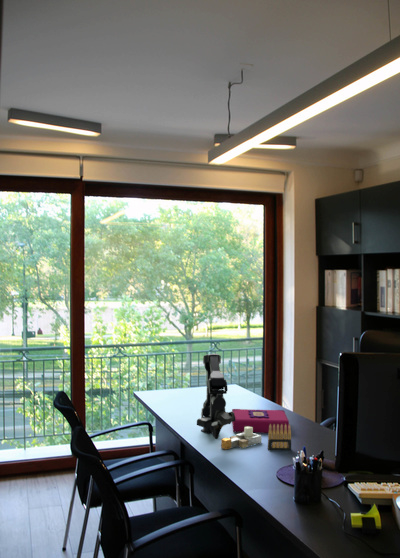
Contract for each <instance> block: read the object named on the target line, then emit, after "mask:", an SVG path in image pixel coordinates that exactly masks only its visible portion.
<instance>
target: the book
mask: <svg viewBox="0 0 400 558" xmlns="http://www.w3.org/2000/svg"><path fill="white" fill-rule="evenodd" d="M232 411H233V412H234V415H235V421H233V422H231V424H232V433H244V427H253V432H256V433H255V434H268V433H269V425H270V424H271V427H272V432H273V425H274V424H275V432H276V430H277V424H279V433H280V428H281V424H282V425H283V434H284V427H285V424H286V426H287V435H288V426H289V424H290V420H289V418H288V417H287V414H286V412H285V410H284V409H243V408H232V409H231V412H232Z"/></svg>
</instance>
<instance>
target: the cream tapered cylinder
mask: <svg viewBox="0 0 400 558" xmlns="http://www.w3.org/2000/svg"><path fill="white" fill-rule="evenodd" d="M243 433H244V440H245V438H246V437H248V438H249V437H253V427H244V432H243Z"/></svg>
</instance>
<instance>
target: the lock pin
mask: <svg viewBox="0 0 400 558" xmlns="http://www.w3.org/2000/svg"><path fill="white" fill-rule="evenodd" d="M239 440H241V439H239V438H237V437H236V438H232V439H230V437H224V438H221V440H220V441H221V445H220V447H221V449H223V450H229V449H232V448H237V447H239Z"/></svg>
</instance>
